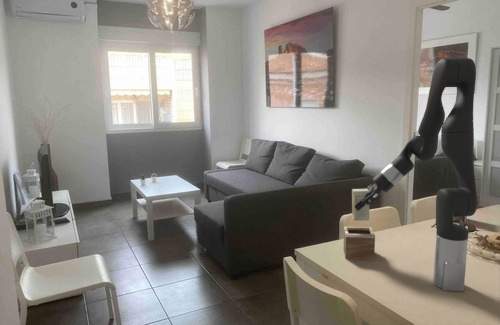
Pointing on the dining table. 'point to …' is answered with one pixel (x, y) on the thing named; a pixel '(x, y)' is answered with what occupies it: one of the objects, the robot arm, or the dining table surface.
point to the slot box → (359, 243)
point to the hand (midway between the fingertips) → (355, 206)
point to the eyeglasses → (461, 222)
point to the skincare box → (356, 198)
